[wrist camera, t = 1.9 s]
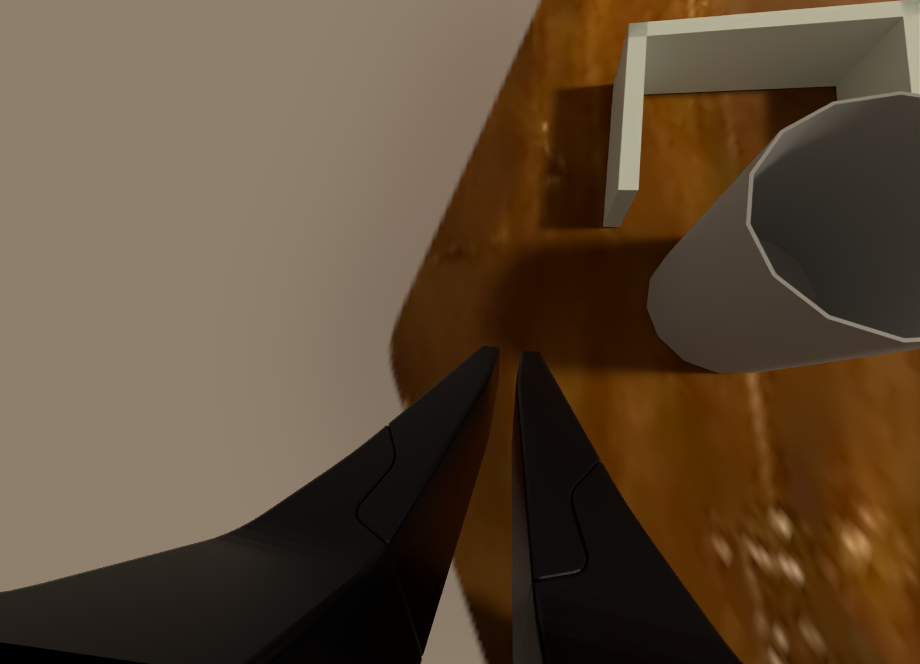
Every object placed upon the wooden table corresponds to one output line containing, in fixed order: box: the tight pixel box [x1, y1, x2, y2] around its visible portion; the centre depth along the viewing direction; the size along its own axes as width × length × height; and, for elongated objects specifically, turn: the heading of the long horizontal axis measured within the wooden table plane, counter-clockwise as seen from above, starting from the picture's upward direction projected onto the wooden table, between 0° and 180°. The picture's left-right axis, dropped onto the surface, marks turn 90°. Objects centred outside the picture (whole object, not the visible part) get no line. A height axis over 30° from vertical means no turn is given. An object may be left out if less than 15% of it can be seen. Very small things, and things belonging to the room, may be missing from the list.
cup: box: [647, 91, 920, 374], centre depth 15 cm, size 8×8×10 cm
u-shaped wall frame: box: [603, 0, 920, 227], centre depth 20 cm, size 11×14×4 cm
